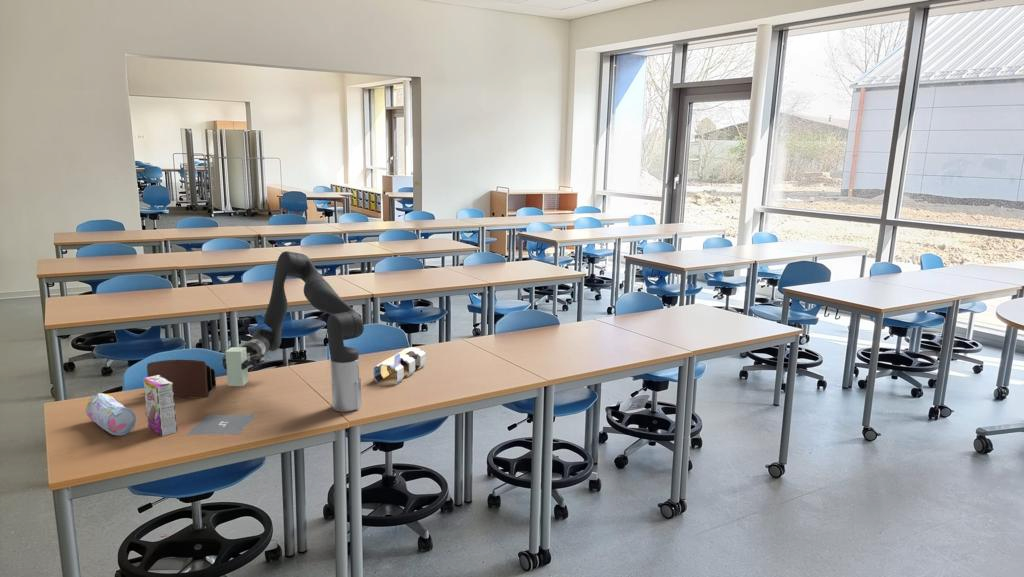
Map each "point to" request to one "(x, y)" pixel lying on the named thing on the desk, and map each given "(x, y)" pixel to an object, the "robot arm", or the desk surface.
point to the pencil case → (110, 414)
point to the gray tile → (222, 424)
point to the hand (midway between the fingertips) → (234, 366)
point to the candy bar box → (160, 405)
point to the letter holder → (185, 377)
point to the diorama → (400, 364)
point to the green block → (236, 366)
